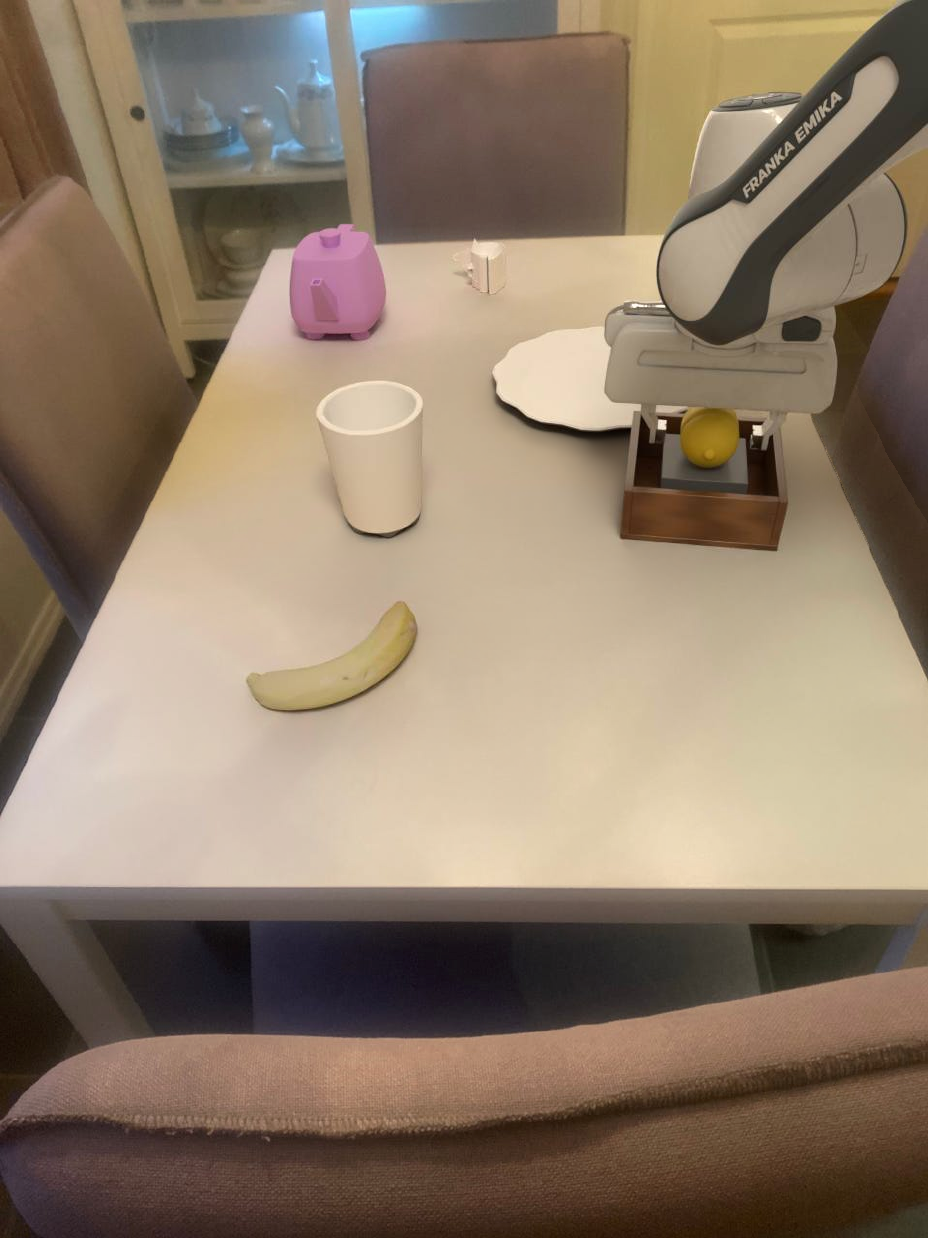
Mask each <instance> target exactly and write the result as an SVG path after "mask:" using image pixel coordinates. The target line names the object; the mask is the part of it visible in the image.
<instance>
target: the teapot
mask: <svg viewBox="0 0 928 1238" xmlns="http://www.w3.org/2000/svg"><path fill="white" fill-rule="evenodd" d="M288 293H289V307H290V314H291V318H292V320H293V322H294V324H295V325H296V327H297V328H298V329H299V331H301V332H303V333H306V338H307V339H308V340H320V339H322V338H324V337H325V336H326V334H349V335H350V337H351V339H353V340H357V341H360V340H366V339H368V338H369V337H370V336H371V333H370V332H369V330H370V329H371V328H372V327H373V326H374V325H375V324H376V323H377V322H378V320H379V319H380V317H381V315H382V312H383V311H384V307H385V303H386V299H387V288H386V280H385V275H384V272H383V267H382V264H381V261H380V258H379V255H378V252H377V250H376V248H375V245H374V243H373V240H372V238H371V236H370V234H369V233H368V232H365V231H356V229H355V224H354V223H340V224H338V227H337V228H334V227H329V228H325V229H322V230H320V231H314V232H311V233H309V234H307V235H306V236H305V237H304V238H302V240H301V241H300V242H299V243H298V244H297V246H296V248H295V249H294V251H293V254H292V260H291V265H290V274H289V291H288Z"/></svg>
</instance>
